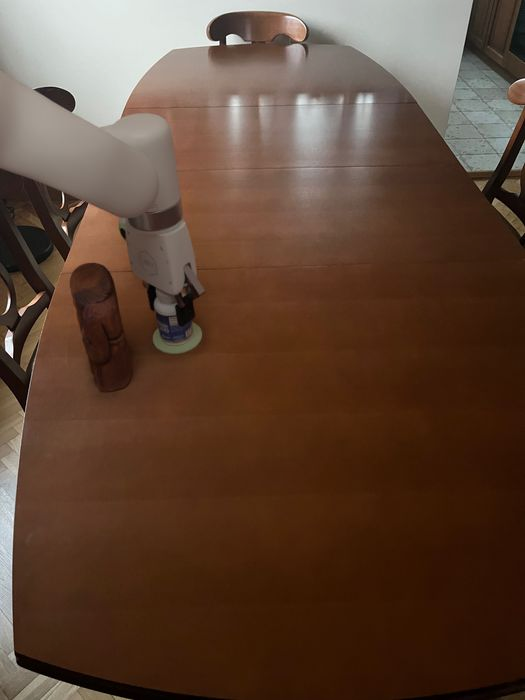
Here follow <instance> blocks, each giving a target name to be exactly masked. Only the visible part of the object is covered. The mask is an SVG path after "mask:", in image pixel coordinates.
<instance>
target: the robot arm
mask: <svg viewBox="0 0 525 700" xmlns="http://www.w3.org/2000/svg"><path fill="white" fill-rule="evenodd" d="M0 169H1V170H3V171H7V172H9V173H12V174H15V175H18V176H21V177H25V178H28V179H30V180H33V181H36V182H38V183H41V184H43V185H45V186H49V187H50V188H53V189H55V190H57V191H59V192H62V193H63V194H67V195H69V196H71V197H73V198H74V199H75V198H76V199H78V200H80V201H82V202H84V203H86V204H89V205H91V206H93V207H96V208H98V209H99V210H103V211H104V212H107V213H109V214H111V215H113V216H114V217H118V218H126V222H125V231H126V241H125V243H126V248H127V254H128V255H127V256H128V260H129V265H130V269H131V272H132V274H133V275H134V276H135V277H136V278H138V279H140V280H141V281H142V286H143V287H144V288H145V289H146V295H147V300H148V305H149V309H150V310H151V311H153V312H155V309H154V301H155V299H156V297H157V296H156V288H158V289H160V290H162V291H164V292H166V293H168V294H171V295H174V297H175V299H176V302H177V304H176V305H175V310H176V316H177V322H178V325H179V326H181V327H182V326H184V325H185V324H187V323H188V322H189V321H191V320H193V319H195V317H196V311H195V304H194V300H195V301H196V300H197V299H198V298H201V297H203V295H205V294H206V290H205V288H204V286H203V285H202V283H201V282H200V280H199V279H198V271H197V263H196V262H197V261H196V257H195V251H194V247H193V243H192V240H191V236H190V232H189V229H188V227H187V223H186V221H185V220H184V216H185V215H184V210H183V203H182V196H181V188H180V181H179V174H178V167H177V160H176V153H175V145H174V140H173V133H172V129H171V126H170V124H169V122H168V121H167V120H166V119H165V118H164V117H162V116H161V115H158V114H156V113H150V112H143V113H142V112H141V113H140V112H139V113H131V114H128V115H126V116H123V117H121V118H119V119H117V120H116V121H115V122H113V123H112V124H108V125H104V126H97V125H95V124H93V123H92V122H90V121H88V120H86V119H84V118H83V117H81V116H79V115H77V114H76V113H74V112H72V111H70V110H68V109H67V108H64V107H63V106H62V105H59V104H58V103H56V102H55V101H53V100H51V99H50V98H48V97H46V96H45V95H43V94H42V93H40V92H38V91H37V90H35V89H33V88H32V87H29V86H28V85H27V84H24V83H23V82H21V81H19V80H18V79H15V78H14V77H12V76H10V75H8V74H7V73H5V72H3V71H2V70H0ZM182 290H183V291H185V293H186V294H185V296H184V297H182V295H181V292H182Z"/></svg>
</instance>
